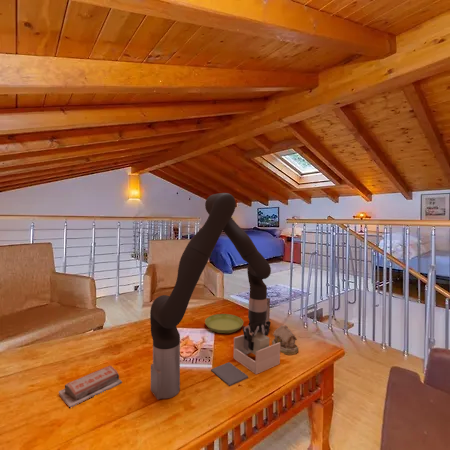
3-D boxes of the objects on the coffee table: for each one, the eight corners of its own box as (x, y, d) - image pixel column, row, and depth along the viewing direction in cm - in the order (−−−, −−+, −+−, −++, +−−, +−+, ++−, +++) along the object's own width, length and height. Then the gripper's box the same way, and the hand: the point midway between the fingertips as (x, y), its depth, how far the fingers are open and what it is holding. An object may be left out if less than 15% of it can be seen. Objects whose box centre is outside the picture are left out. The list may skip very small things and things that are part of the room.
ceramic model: (267, 342, 139) (267, 322, 138) (286, 338, 143) (287, 318, 142) (284, 356, 126) (285, 334, 125) (305, 352, 130) (305, 330, 130)
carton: (256, 374, 112) (256, 352, 112) (233, 358, 124) (233, 337, 123) (279, 363, 120) (280, 342, 119) (256, 349, 131) (256, 330, 131)
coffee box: (257, 326, 157) (258, 296, 155) (269, 327, 155) (270, 297, 154) (255, 333, 148) (256, 302, 146) (268, 334, 146) (269, 303, 145)
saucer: (199, 322, 160) (199, 317, 160) (232, 317, 169) (232, 311, 169) (214, 338, 141) (214, 332, 141) (250, 331, 150) (250, 325, 150)
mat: (229, 386, 105) (229, 384, 105) (211, 370, 114) (211, 369, 114) (248, 377, 110) (248, 376, 110) (229, 363, 120) (229, 362, 120)
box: (259, 358, 116) (260, 341, 115) (243, 347, 124) (244, 331, 123) (268, 354, 119) (269, 337, 118) (252, 344, 127) (253, 329, 126)
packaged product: (109, 361, 112) (122, 371, 105) (109, 373, 112) (122, 384, 106) (57, 382, 98) (69, 395, 92) (58, 395, 99) (69, 410, 92)
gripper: (250, 314, 113) (249, 356, 114) (276, 307, 121) (274, 346, 122) (238, 308, 119) (237, 348, 120) (263, 302, 127) (262, 339, 128)
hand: (256, 347), depth 121 cm, fingers closed on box, 5 cm apart
